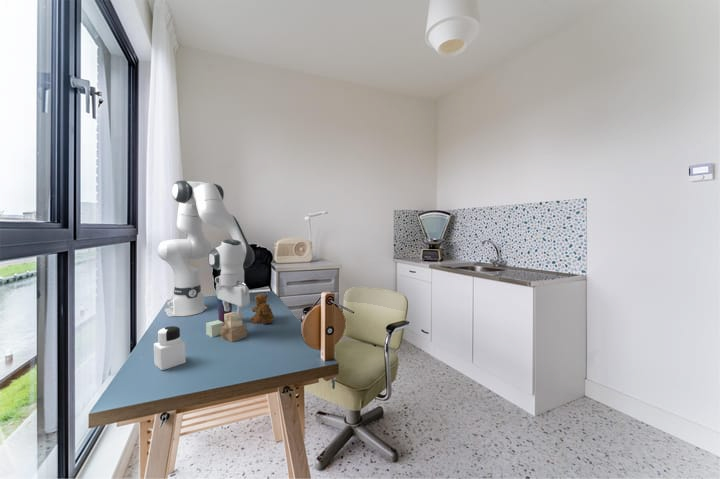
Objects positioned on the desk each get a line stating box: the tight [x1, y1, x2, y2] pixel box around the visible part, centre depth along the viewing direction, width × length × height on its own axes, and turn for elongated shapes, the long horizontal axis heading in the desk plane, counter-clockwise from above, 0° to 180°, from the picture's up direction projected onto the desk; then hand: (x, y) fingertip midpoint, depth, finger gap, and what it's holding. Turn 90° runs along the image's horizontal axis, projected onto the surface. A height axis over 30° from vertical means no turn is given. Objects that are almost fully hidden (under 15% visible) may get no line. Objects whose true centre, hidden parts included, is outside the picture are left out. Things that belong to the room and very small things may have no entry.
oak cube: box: [224, 310, 243, 329], centre depth 120 cm, size 5×5×5 cm
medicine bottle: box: [153, 325, 187, 371], centre depth 97 cm, size 7×7×12 cm
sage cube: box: [205, 319, 224, 338], centre depth 124 cm, size 5×5×5 cm
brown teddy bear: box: [249, 293, 275, 325], centre depth 139 cm, size 10×14×13 cm
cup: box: [216, 297, 233, 322], centre depth 136 cm, size 7×7×15 cm
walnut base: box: [220, 323, 248, 343], centre depth 120 cm, size 7×7×5 cm
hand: (233, 313), depth 120 cm, fingers open, 8 cm apart
